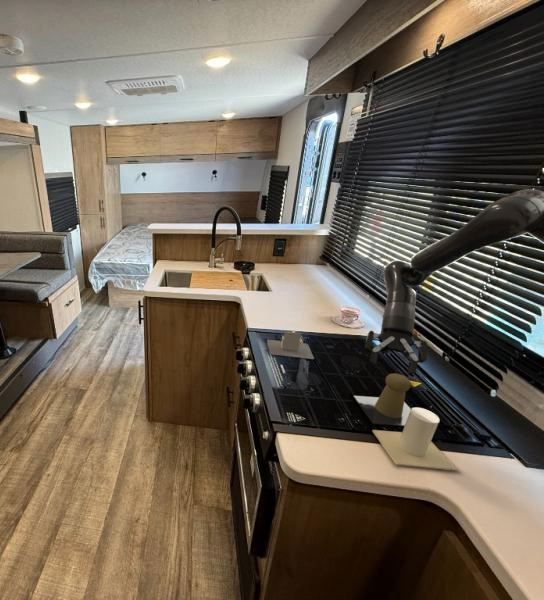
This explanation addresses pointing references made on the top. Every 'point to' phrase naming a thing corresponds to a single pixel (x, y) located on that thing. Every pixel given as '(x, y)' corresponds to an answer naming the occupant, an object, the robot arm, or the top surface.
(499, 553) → the top surface
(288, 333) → the architectural model
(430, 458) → the cream mat
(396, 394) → the cork
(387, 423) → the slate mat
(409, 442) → the beige cylinder
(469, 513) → the top surface
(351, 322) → the teacup
